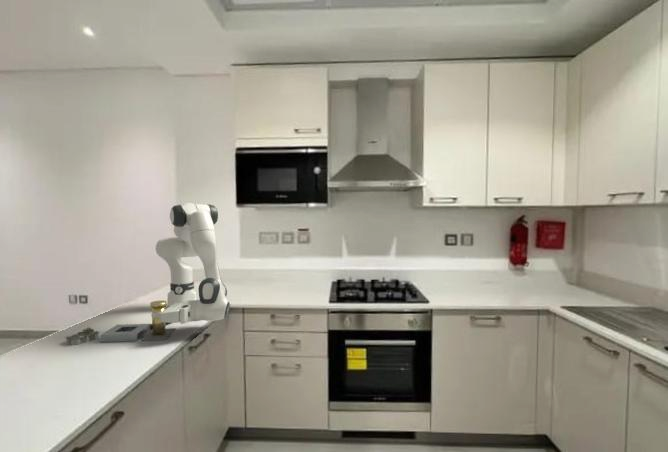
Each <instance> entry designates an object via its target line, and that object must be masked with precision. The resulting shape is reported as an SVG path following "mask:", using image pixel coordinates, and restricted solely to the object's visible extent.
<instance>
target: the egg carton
mask: <svg viewBox="0 0 668 452" xmlns="http://www.w3.org/2000/svg"><path fill="white" fill-rule="evenodd" d="M99 333H101V331H97V330H94V328H91V326H90V327H86V328H84V329H82V330H81V331H78V332H77V333H74V334H71V335H69V336H64V339H65V340H66V344H67V345H69V344H70V345H71V346H76V345H78V346H79V345H81V344H82V343H88V342H90V341H92V340H98V339H99Z"/></svg>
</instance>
